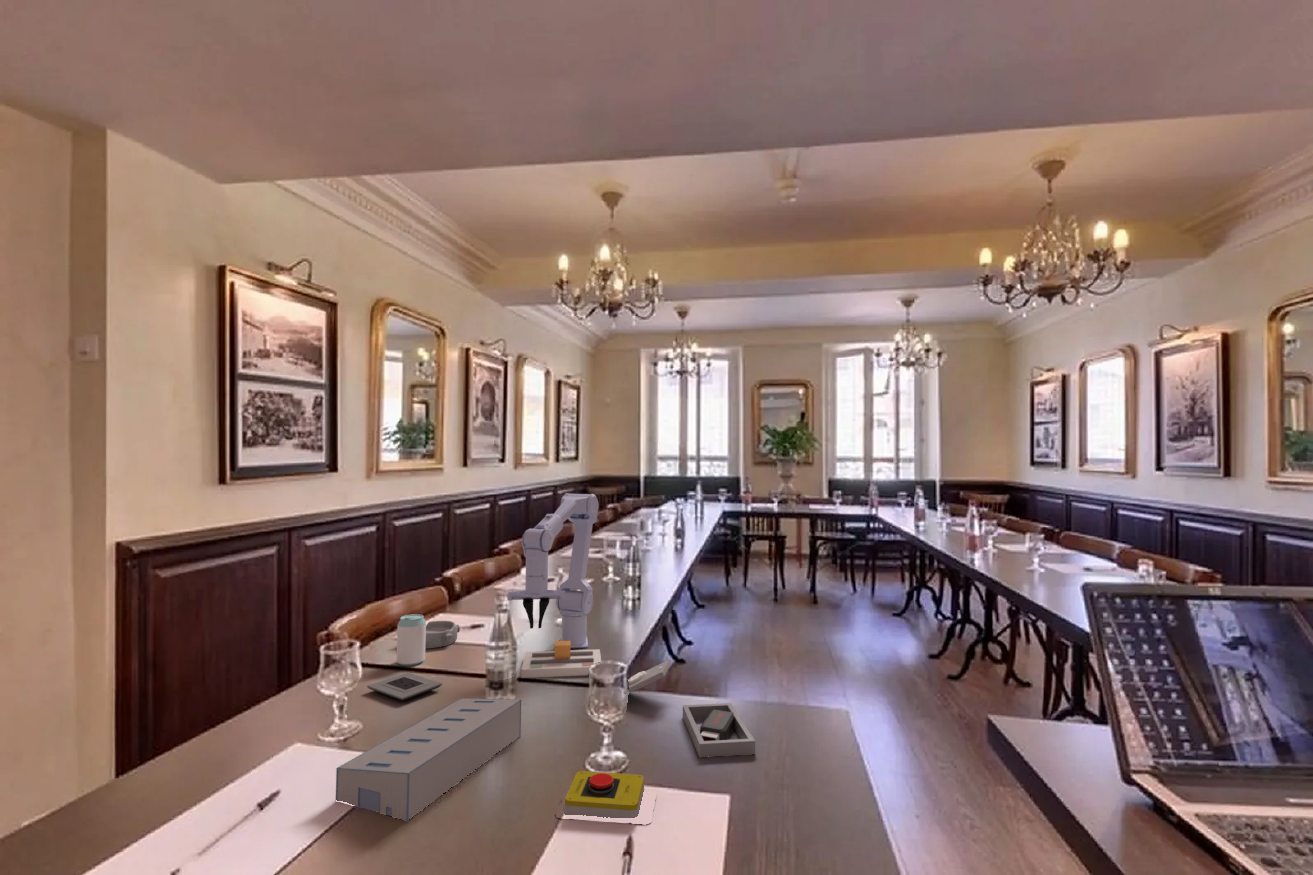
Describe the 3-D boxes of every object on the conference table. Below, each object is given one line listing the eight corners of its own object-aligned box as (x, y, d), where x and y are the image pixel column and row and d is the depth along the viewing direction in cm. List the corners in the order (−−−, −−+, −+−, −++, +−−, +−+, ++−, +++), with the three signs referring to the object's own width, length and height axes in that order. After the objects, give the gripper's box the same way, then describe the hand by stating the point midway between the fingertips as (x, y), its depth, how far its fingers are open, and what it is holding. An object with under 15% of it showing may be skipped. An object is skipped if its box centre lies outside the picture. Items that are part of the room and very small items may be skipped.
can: (418, 666, 157) (419, 620, 158) (391, 666, 157) (392, 620, 158) (429, 658, 164) (430, 613, 165) (403, 657, 164) (404, 613, 165)
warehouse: (460, 726, 123) (461, 689, 124) (520, 738, 118) (521, 699, 119) (335, 804, 95) (336, 755, 96) (407, 825, 90) (408, 773, 90)
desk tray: (682, 717, 128) (682, 705, 128) (730, 715, 129) (730, 703, 129) (699, 757, 110) (699, 744, 111) (755, 754, 112) (755, 740, 112)
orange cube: (555, 656, 160) (555, 641, 160) (570, 655, 161) (570, 640, 161) (554, 661, 156) (554, 645, 156) (570, 660, 157) (570, 645, 157)
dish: (397, 649, 172) (397, 631, 172) (423, 635, 186) (423, 618, 186) (444, 652, 170) (444, 634, 170) (467, 637, 183) (467, 621, 184)
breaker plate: (525, 659, 164) (525, 648, 164) (599, 656, 166) (599, 646, 167) (521, 677, 150) (521, 666, 150) (601, 674, 153) (602, 663, 153)
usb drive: (736, 723, 124) (736, 710, 125) (721, 749, 113) (721, 734, 113) (711, 719, 126) (712, 706, 126) (695, 744, 115) (695, 730, 115)
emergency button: (568, 761, 101) (658, 767, 99) (568, 788, 101) (657, 795, 99) (553, 792, 92) (651, 799, 90) (553, 822, 91) (651, 829, 90)
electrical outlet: (442, 692, 141) (442, 681, 141) (401, 707, 132) (402, 696, 133) (407, 680, 148) (407, 671, 148) (366, 694, 140) (367, 684, 140)
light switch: (614, 681, 143) (667, 656, 141) (625, 705, 143) (678, 679, 140) (603, 695, 135) (660, 668, 133) (615, 720, 134) (672, 693, 132)
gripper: (506, 578, 153) (505, 632, 153) (564, 577, 155) (563, 630, 155) (509, 573, 160) (508, 624, 160) (564, 572, 162) (564, 623, 162)
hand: (535, 627), depth 158 cm, fingers closed
